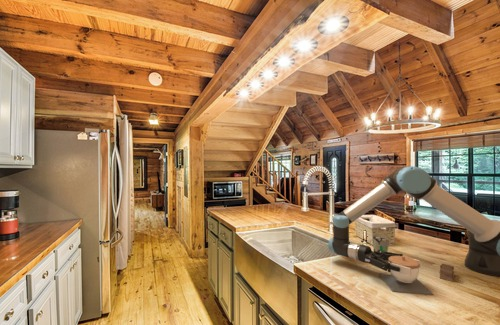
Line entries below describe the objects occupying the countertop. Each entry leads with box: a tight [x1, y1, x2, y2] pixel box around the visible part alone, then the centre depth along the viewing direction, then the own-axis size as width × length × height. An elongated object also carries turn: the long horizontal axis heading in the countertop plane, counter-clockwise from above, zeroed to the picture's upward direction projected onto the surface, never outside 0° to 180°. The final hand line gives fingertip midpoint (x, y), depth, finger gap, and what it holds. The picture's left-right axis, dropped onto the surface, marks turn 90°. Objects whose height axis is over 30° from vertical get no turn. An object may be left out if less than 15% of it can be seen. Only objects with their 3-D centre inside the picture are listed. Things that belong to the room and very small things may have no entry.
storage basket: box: [353, 214, 397, 246], centre depth 155 cm, size 24×16×15 cm
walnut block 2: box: [439, 267, 455, 283], centre depth 101 cm, size 4×4×4 cm
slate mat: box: [379, 273, 434, 296], centre depth 97 cm, size 14×14×1 cm
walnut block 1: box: [439, 263, 455, 271], centre depth 105 cm, size 4×4×4 cm
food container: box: [372, 235, 390, 252], centre depth 126 cm, size 12×6×10 cm, turn 168°
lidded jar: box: [388, 255, 421, 283], centre depth 97 cm, size 11×11×9 cm
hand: (415, 267), depth 94 cm, fingers closed on lidded jar, 11 cm apart
